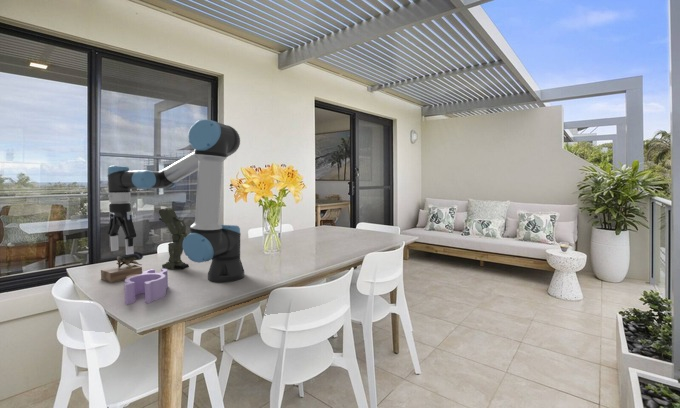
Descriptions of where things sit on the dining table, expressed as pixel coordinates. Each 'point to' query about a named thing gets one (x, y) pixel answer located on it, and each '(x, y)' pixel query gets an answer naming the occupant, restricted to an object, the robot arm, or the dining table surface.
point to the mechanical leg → (174, 238)
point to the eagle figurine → (129, 259)
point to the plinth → (119, 273)
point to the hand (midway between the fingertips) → (122, 252)
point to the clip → (146, 285)
